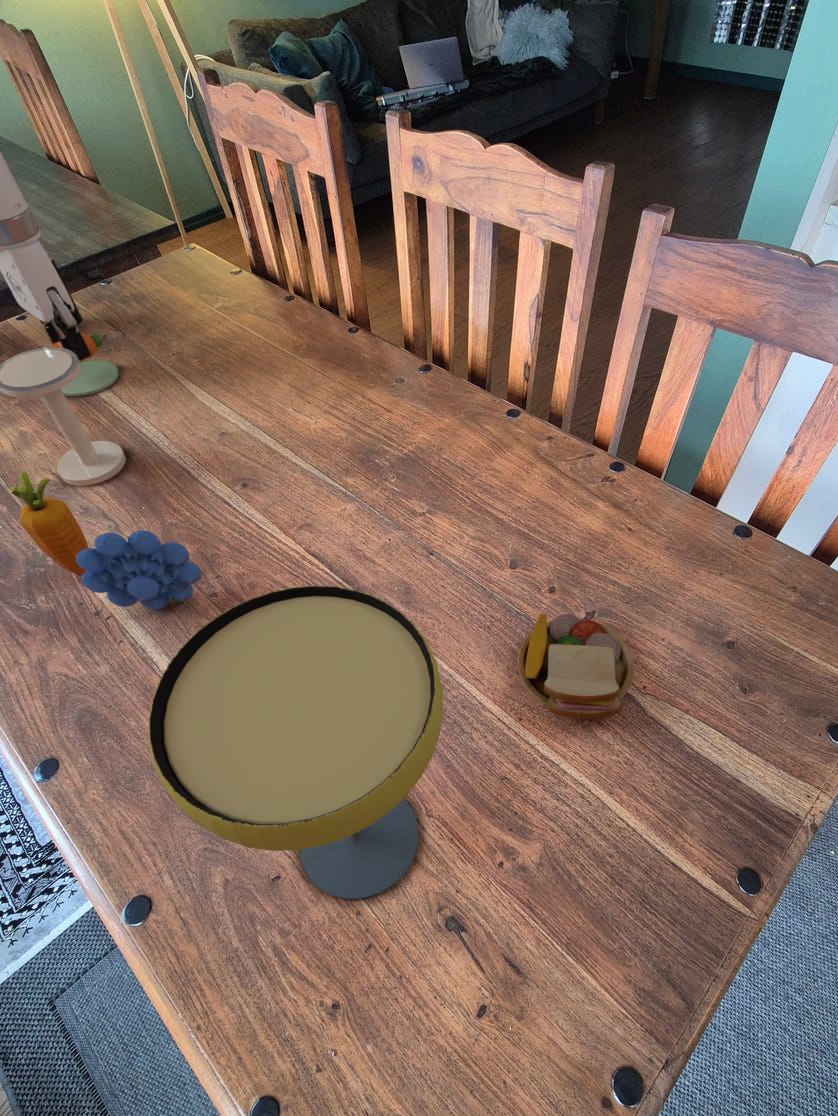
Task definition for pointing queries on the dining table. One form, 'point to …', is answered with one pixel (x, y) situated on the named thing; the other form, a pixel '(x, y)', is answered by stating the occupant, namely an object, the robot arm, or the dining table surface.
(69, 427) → the cake stand
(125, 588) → the blue knobbed flower
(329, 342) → the dining table surface
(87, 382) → the mat
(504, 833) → the dining table surface
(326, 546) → the dining table surface
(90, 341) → the carrot
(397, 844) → the cocktail glass
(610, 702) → the toy sandwich meal
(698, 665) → the dining table surface
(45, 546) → the carrot
